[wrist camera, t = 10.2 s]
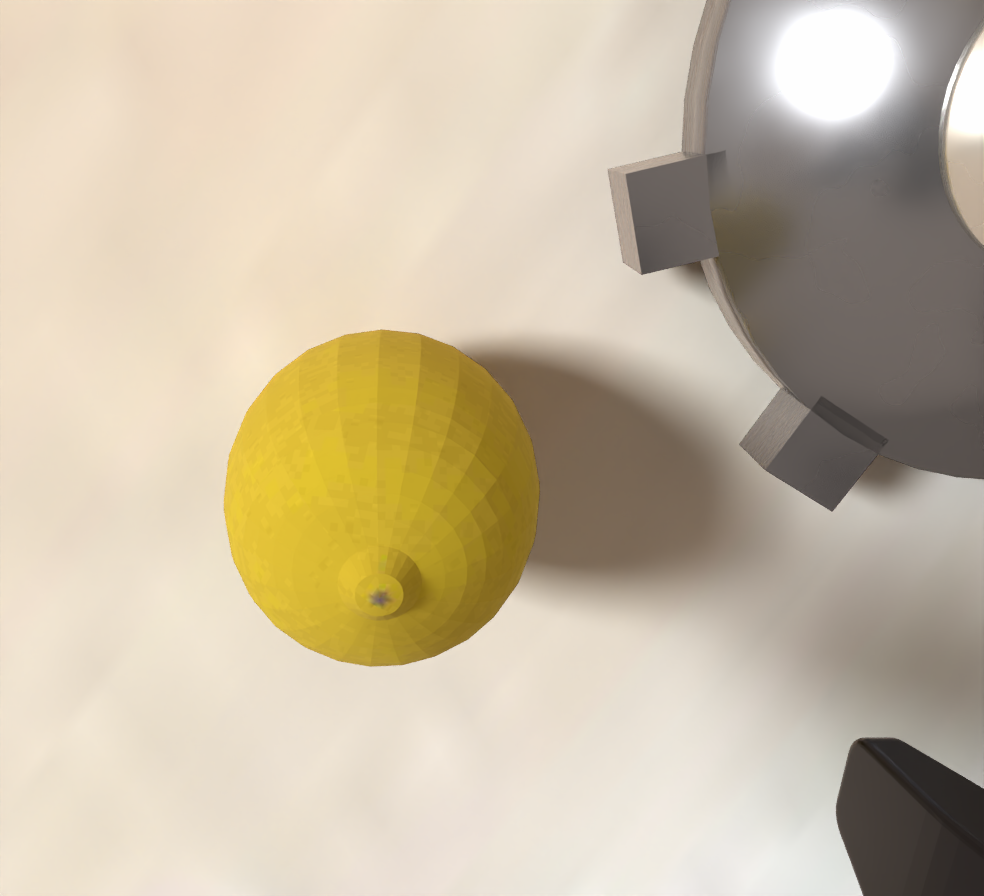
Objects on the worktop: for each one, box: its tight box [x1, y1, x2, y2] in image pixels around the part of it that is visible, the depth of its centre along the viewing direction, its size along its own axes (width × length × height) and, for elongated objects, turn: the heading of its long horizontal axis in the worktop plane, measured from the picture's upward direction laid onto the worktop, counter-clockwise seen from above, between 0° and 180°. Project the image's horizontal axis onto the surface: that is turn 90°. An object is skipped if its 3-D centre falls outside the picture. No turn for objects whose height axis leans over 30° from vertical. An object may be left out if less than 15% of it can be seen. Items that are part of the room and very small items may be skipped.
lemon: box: [224, 330, 540, 666], centre depth 16 cm, size 6×6×8 cm
